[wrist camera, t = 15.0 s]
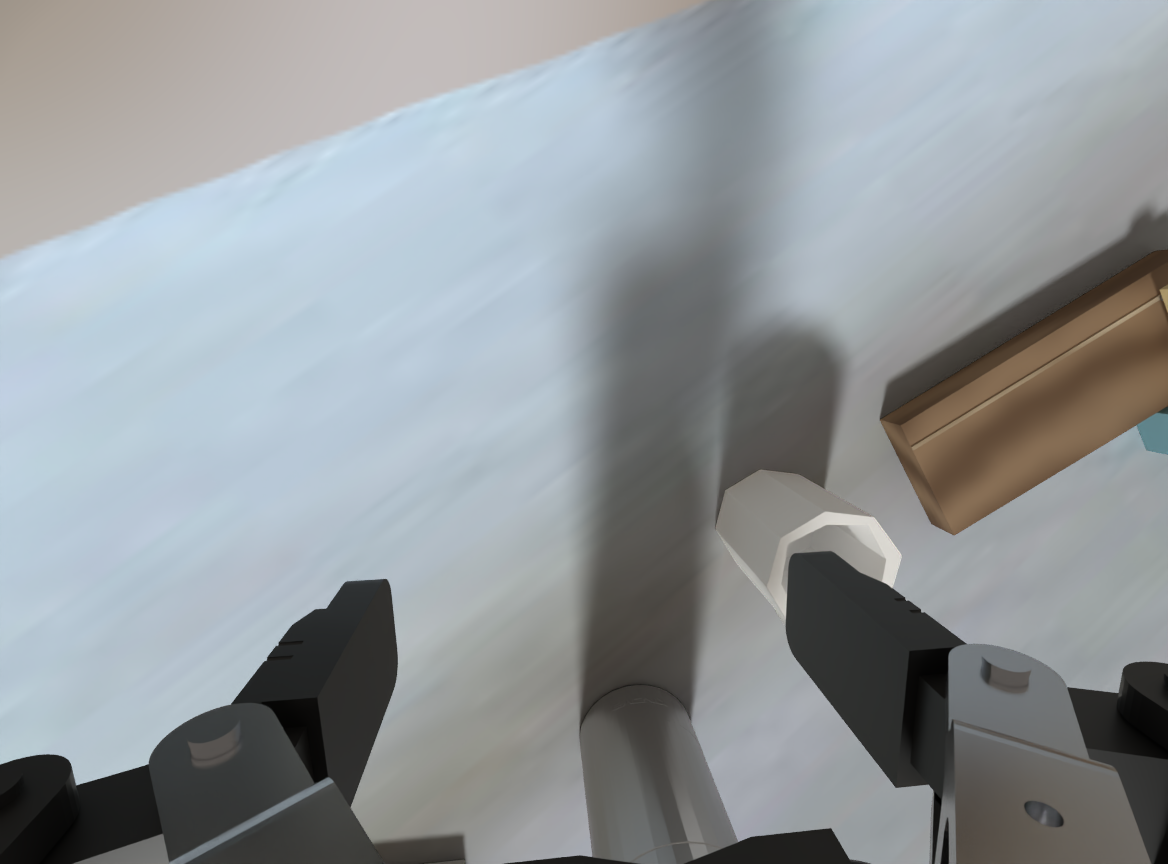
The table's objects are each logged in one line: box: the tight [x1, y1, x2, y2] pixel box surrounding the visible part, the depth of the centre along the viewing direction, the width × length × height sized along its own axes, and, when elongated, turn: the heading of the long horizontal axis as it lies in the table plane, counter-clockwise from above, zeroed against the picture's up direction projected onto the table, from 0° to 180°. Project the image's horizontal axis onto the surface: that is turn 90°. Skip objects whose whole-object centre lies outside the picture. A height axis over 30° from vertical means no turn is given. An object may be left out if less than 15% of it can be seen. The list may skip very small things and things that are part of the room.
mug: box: [715, 469, 902, 627], centre depth 40 cm, size 12×9×10 cm
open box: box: [880, 250, 1168, 535], centre depth 43 cm, size 10×24×3 cm, turn 121°
